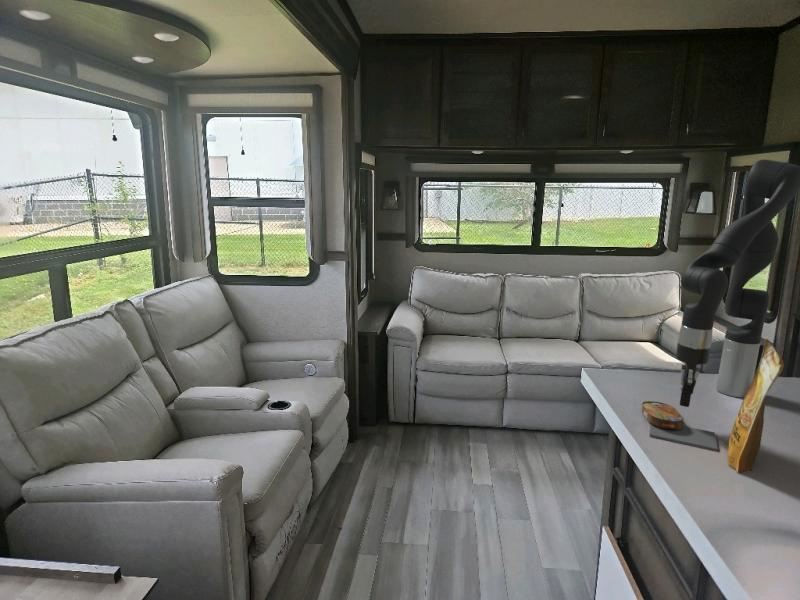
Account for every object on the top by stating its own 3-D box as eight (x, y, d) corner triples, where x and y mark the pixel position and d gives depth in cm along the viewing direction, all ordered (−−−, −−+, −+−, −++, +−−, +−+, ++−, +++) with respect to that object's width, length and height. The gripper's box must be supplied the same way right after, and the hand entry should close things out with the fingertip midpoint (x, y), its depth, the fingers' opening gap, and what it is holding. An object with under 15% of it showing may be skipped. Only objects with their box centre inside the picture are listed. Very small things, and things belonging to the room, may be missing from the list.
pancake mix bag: (760, 447, 128) (782, 339, 121) (760, 482, 112) (785, 360, 106) (728, 439, 131) (747, 334, 125) (724, 472, 116) (746, 353, 110)
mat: (650, 421, 140) (650, 419, 140) (714, 434, 134) (714, 432, 134) (649, 436, 132) (649, 434, 132) (717, 451, 125) (717, 449, 125)
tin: (688, 422, 132) (653, 416, 134) (685, 434, 133) (650, 427, 134) (671, 403, 147) (639, 397, 148) (668, 413, 147) (637, 407, 149)
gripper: (677, 335, 141) (668, 394, 145) (678, 347, 130) (668, 411, 133) (709, 339, 138) (699, 399, 142) (712, 352, 126) (701, 417, 130)
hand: (684, 405), depth 137 cm, fingers closed
